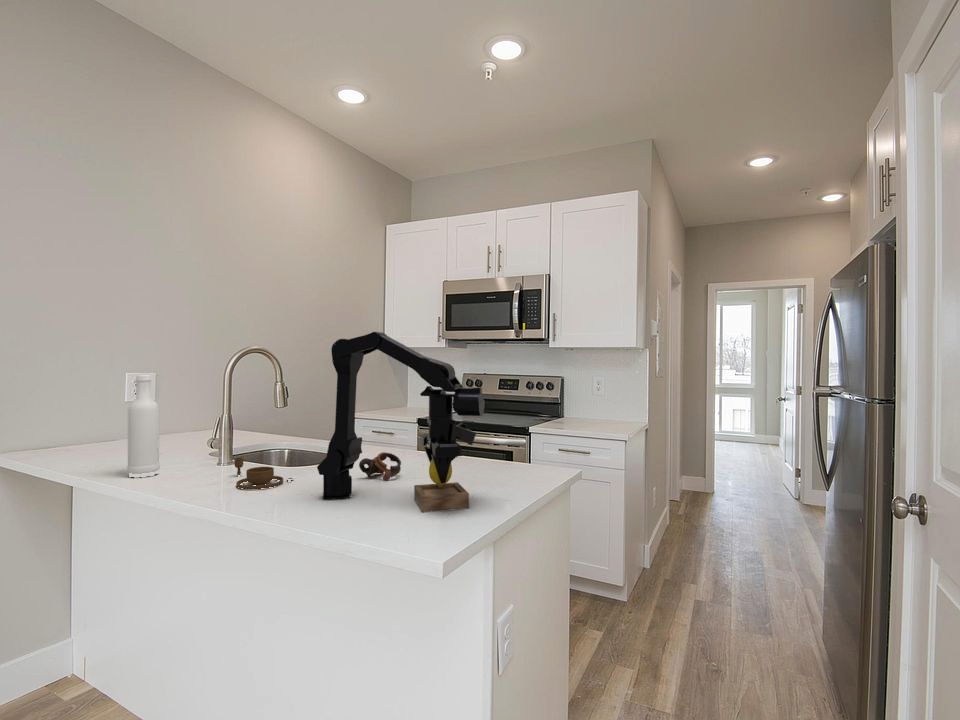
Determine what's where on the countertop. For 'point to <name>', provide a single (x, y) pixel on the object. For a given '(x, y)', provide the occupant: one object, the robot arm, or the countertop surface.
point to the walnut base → (441, 497)
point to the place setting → (257, 476)
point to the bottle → (143, 430)
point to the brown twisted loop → (381, 465)
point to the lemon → (434, 474)
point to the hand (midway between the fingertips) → (440, 479)
